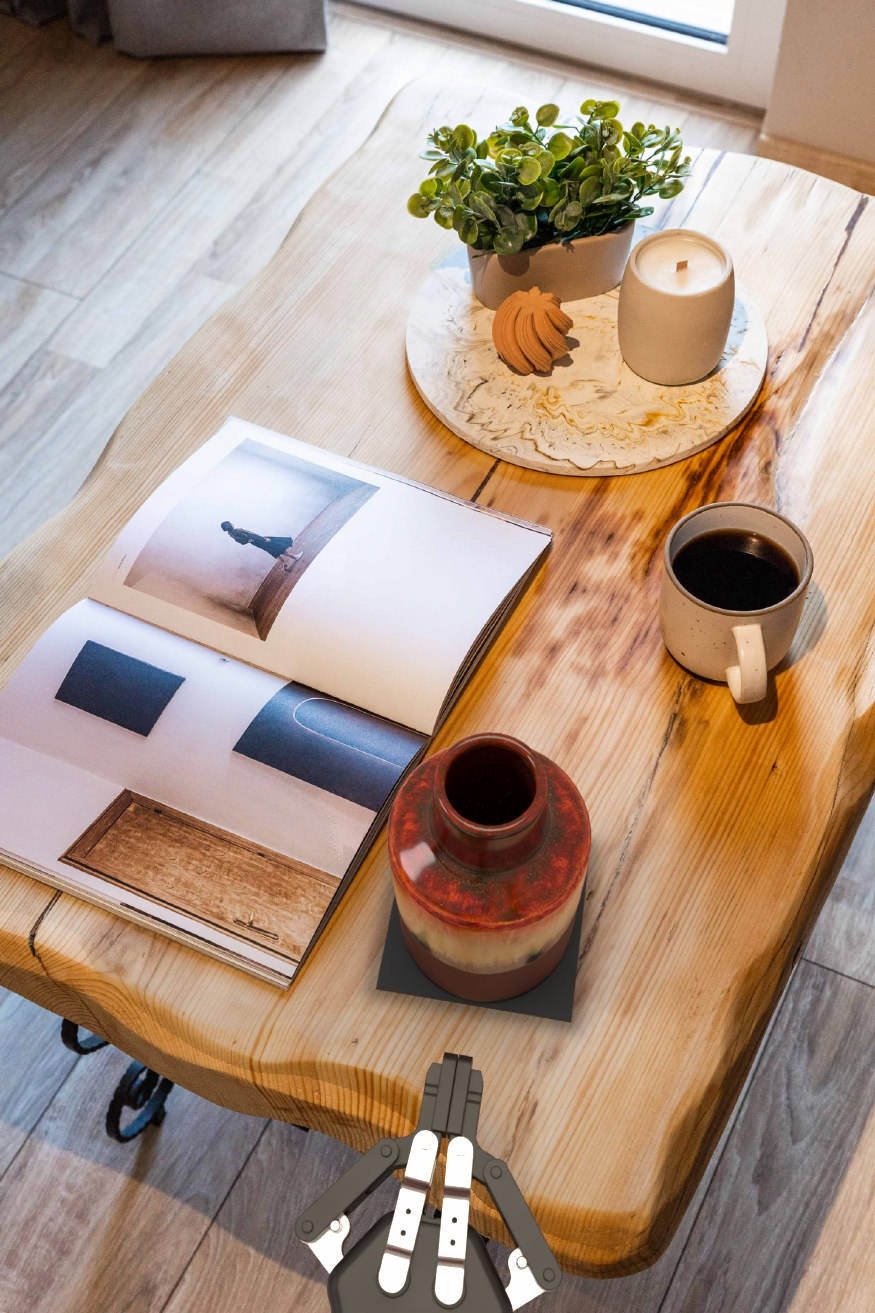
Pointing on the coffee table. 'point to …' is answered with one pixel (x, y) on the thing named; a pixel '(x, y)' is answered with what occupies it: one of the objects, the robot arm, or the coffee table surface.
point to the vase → (488, 866)
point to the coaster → (541, 1001)
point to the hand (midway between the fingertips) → (458, 1057)
